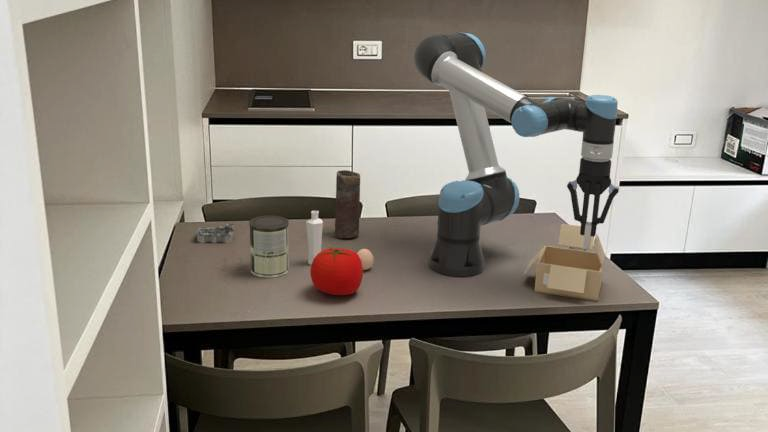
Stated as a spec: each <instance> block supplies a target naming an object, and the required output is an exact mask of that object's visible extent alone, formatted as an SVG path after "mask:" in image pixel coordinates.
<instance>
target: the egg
mask: <svg viewBox="0 0 768 432" xmlns="http://www.w3.org/2000/svg"><path fill="white" fill-rule="evenodd" d="M356 253H357V254H358V255H359V257H360V259H361V263H362V268H363V271H365V270H366V271H367V270H369V269H370V268H372V266H373V265H374V261H375V260H374V255H373V254H372V252H371V250H369V249H367V248H362V249H361V248H360V250H358V251H357V252H356Z"/></svg>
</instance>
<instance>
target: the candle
mask: <svg viewBox="0 0 768 432" xmlns="http://www.w3.org/2000/svg"><path fill="white" fill-rule="evenodd" d="M335 183H336V184H335V185H336V186H335V188H336V190H335V191H336V192H335V214H334V215H335V217H334V218H335V219H334V221H335V222H334V229H335V230H334V237H336V238H338V239H341V238H342V239H352V238H355V237H357V236H358V235H359V234H360V212H361V211H360V208H361V207H360V206H361V205H360V204H361V202H360V201H361V200H360V199H361V174H360V173H358V172H355V171H351V170H348V169H345V170H344V169H343V170H338V171H337V172H336V182H335Z"/></svg>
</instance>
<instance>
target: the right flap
mask: <svg viewBox="0 0 768 432" xmlns="http://www.w3.org/2000/svg"><path fill="white" fill-rule="evenodd" d="M593 248H594V249H595V252H596V253H597V255H598V258H599V261H600V264H601V266H603V262H604V263H605V261H604V258H605V259H606V253H605V250H604V247H603V246H602V242H601V239H600V236H599V235H598V234H597V233H596V234H595V236H594V242H593Z"/></svg>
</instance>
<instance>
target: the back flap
mask: <svg viewBox="0 0 768 432" xmlns="http://www.w3.org/2000/svg"><path fill="white" fill-rule="evenodd" d="M580 230H581V225H573V224H567V223H561V225H560V231H559V236H558V237H559V238H558V242H557V245H558V246H561V247H562V246H563V247H568V248H570V247H576V248H583V243H584V235H581V234H580ZM594 240H595V236H594V237H593V236H591V240H590V247H589V249H588V250H592V251H593V248H594Z"/></svg>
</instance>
